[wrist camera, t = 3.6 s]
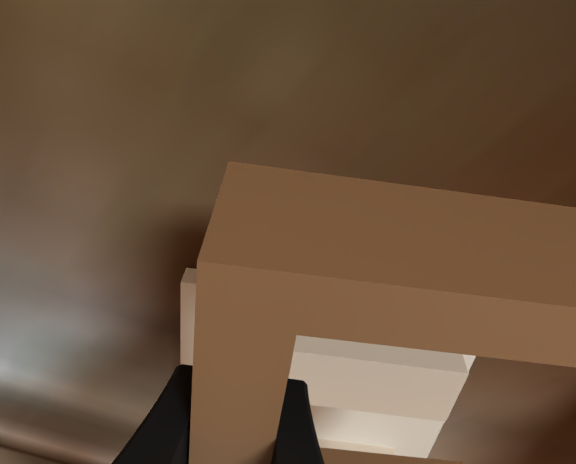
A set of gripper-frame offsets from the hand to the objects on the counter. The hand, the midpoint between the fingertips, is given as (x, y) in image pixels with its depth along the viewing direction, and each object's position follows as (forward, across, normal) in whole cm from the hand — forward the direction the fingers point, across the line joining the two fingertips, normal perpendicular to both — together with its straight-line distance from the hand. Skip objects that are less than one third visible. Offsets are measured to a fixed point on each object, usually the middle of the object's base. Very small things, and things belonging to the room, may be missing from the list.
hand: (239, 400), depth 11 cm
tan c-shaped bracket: (+2, -3, 0) cm, 4 cm away
